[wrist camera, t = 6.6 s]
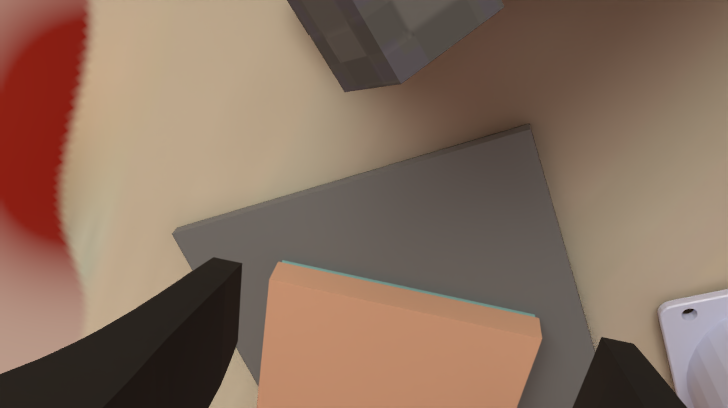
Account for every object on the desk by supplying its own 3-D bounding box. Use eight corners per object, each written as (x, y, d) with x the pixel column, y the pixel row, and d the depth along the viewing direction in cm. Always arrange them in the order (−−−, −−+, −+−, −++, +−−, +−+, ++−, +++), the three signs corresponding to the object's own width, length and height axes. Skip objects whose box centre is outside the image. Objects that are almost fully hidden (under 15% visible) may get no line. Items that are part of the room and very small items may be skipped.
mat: (529, 123, 21) (530, 128, 20) (616, 427, 26) (619, 436, 26) (177, 227, 25) (172, 234, 25) (314, 472, 30) (312, 480, 30)
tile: (269, 279, 23) (254, 431, 27) (542, 338, 22) (487, 486, 26) (280, 257, 24) (264, 405, 28) (538, 313, 24) (486, 457, 27)
